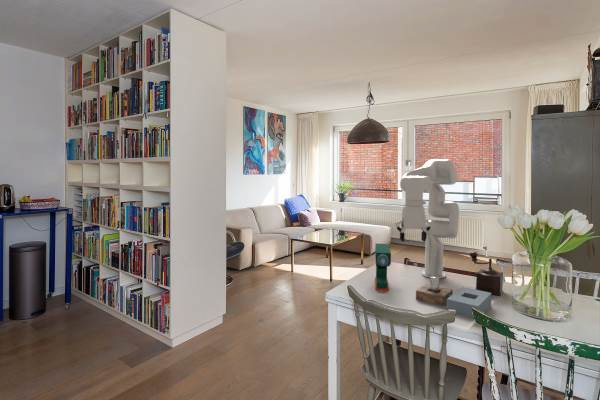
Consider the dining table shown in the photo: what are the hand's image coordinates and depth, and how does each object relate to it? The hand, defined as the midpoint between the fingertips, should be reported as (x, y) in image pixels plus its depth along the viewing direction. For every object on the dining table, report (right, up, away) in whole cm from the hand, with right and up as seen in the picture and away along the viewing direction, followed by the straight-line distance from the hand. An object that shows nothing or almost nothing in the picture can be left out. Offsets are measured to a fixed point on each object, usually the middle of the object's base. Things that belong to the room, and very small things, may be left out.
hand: (413, 241), depth 158 cm
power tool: (-10, -26, +16) cm, 32 cm away
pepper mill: (+39, -26, +13) cm, 49 cm away
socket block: (+10, -27, 0) cm, 29 cm away
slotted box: (+21, -28, -10) cm, 36 cm away
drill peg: (+10, -26, 0) cm, 28 cm away
